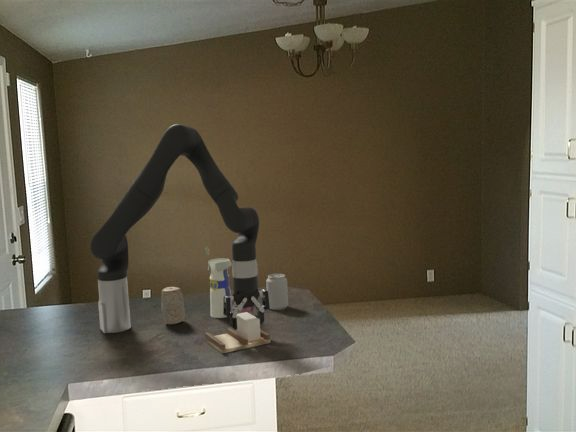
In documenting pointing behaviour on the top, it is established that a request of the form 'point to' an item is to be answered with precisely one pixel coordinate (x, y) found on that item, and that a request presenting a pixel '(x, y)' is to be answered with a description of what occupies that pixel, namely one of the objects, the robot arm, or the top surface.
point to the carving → (172, 305)
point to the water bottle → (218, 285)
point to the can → (277, 291)
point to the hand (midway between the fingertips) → (247, 326)
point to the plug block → (248, 326)
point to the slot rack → (234, 341)
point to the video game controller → (247, 310)
